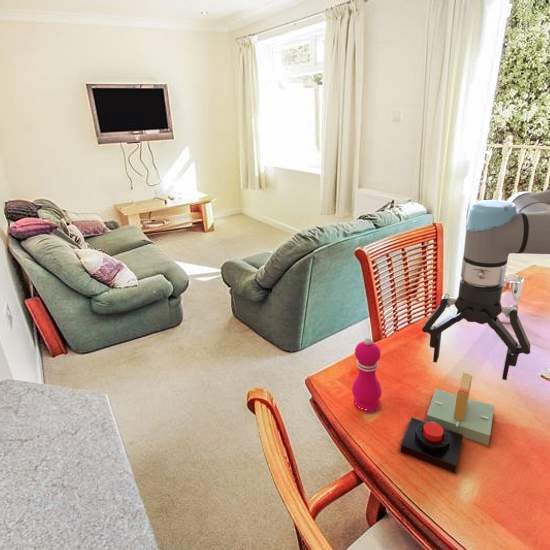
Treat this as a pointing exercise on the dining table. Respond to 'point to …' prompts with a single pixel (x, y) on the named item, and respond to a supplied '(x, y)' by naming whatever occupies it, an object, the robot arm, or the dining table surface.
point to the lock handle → (462, 396)
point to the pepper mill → (367, 376)
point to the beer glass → (511, 293)
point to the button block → (432, 446)
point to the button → (433, 432)
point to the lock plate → (474, 419)
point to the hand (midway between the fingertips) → (468, 367)
